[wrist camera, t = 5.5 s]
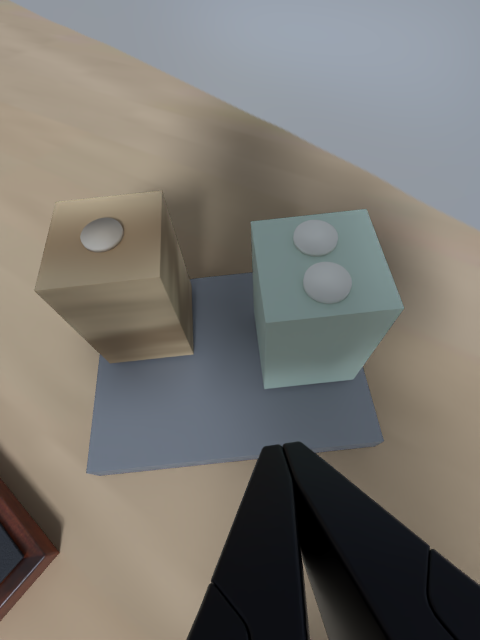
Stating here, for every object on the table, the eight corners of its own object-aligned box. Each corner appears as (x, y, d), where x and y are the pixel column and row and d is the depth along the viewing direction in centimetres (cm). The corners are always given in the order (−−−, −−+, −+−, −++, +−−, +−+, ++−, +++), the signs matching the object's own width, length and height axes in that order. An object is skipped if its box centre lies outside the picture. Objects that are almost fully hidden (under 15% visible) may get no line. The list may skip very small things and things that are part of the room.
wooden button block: (193, 354, 18) (158, 273, 12) (109, 363, 18) (31, 287, 12) (191, 285, 21) (160, 186, 14) (116, 293, 21) (52, 198, 14)
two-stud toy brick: (353, 379, 17) (406, 304, 11) (264, 389, 17) (265, 320, 11) (333, 303, 19) (367, 204, 13) (253, 312, 19) (250, 217, 13)
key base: (374, 446, 17) (383, 441, 16) (99, 475, 17) (86, 473, 16) (329, 277, 22) (333, 263, 21) (116, 300, 22) (107, 288, 21)
